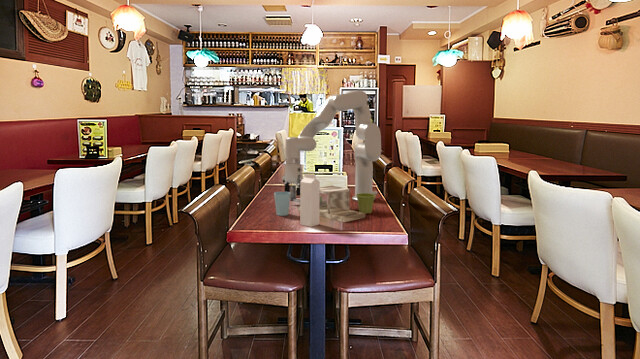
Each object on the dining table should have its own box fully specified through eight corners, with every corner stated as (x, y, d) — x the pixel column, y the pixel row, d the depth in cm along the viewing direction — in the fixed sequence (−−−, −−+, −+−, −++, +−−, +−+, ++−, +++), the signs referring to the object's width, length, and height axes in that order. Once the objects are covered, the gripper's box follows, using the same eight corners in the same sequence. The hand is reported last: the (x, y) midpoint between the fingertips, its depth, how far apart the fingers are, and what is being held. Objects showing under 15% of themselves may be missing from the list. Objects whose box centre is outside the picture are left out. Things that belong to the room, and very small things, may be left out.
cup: (285, 217, 215) (285, 194, 214) (271, 215, 218) (270, 193, 217) (293, 213, 222) (293, 192, 220) (279, 212, 225) (279, 191, 224)
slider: (284, 201, 240) (284, 186, 239) (297, 199, 246) (297, 184, 245) (313, 208, 224) (313, 191, 223) (326, 205, 230) (326, 189, 229)
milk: (308, 222, 206) (308, 172, 203) (319, 224, 202) (320, 174, 199) (299, 225, 201) (300, 174, 198) (311, 227, 197) (311, 175, 194)
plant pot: (377, 211, 229) (377, 193, 227) (372, 215, 220) (373, 197, 219) (358, 209, 232) (358, 192, 230) (353, 213, 223) (353, 196, 222)
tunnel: (297, 210, 229) (297, 186, 227) (318, 206, 238) (318, 183, 237) (344, 222, 206) (344, 195, 204) (365, 217, 215) (365, 191, 213)
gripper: (309, 162, 235) (309, 195, 238) (288, 159, 248) (288, 190, 250) (298, 163, 230) (298, 197, 233) (276, 160, 243) (277, 192, 245)
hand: (293, 193), depth 242 cm, fingers open, 9 cm apart
